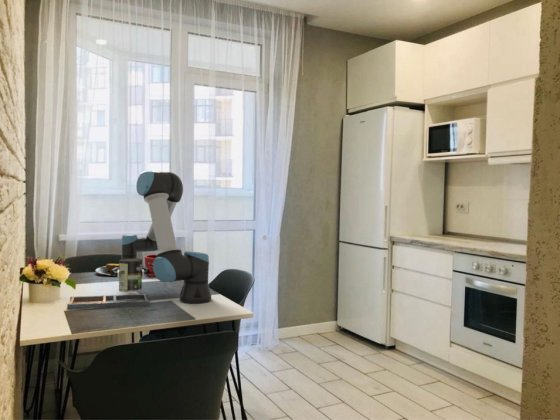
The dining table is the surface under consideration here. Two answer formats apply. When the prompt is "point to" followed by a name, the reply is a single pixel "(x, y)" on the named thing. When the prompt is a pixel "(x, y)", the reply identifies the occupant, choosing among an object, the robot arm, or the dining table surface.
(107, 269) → the food on plate
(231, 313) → the dining table surface
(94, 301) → the gray rectangular tray
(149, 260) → the plant pot
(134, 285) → the coffee can
